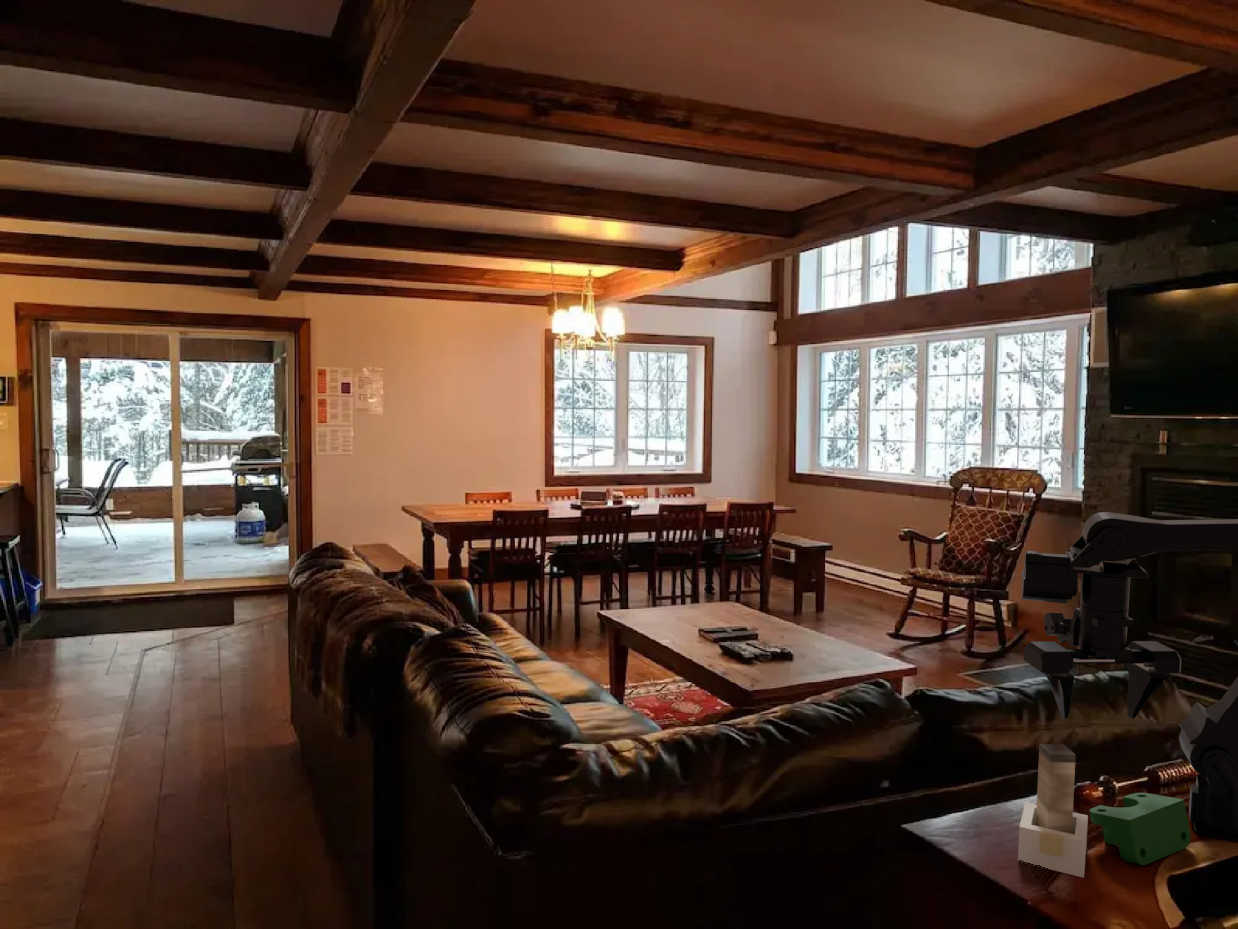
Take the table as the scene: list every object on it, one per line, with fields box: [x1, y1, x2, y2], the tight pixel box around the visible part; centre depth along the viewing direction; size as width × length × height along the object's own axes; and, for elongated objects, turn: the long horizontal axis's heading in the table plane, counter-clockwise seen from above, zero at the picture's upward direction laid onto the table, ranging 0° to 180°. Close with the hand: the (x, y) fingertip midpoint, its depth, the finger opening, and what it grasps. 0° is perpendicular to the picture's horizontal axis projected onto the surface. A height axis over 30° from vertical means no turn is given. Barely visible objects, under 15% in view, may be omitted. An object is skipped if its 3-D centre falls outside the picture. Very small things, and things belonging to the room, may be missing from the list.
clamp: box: [1088, 792, 1192, 866], centre depth 111 cm, size 12×6×9 cm, turn 112°
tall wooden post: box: [1036, 743, 1077, 834], centre depth 108 cm, size 3×3×13 cm
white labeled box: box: [1017, 801, 1089, 878], centre depth 108 cm, size 7×8×5 cm
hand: (1097, 717), depth 119 cm, fingers open, 9 cm apart
